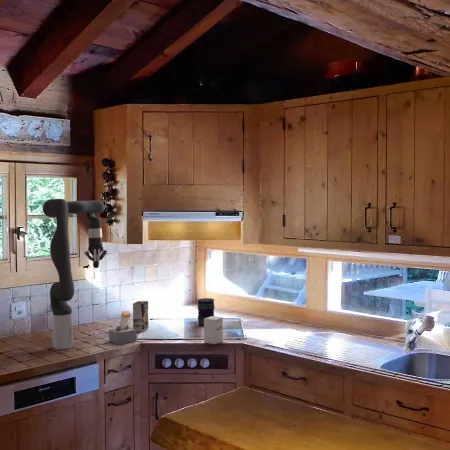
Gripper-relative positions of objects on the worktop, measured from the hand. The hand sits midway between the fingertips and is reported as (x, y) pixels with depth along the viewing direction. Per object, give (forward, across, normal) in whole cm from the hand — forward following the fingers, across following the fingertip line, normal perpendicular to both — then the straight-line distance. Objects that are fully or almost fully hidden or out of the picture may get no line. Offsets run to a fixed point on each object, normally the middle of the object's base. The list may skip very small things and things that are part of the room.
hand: (96, 267), depth 308 cm
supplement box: (+37, +40, -55) cm, 78 cm away
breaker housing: (+37, +4, -23) cm, 44 cm away
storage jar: (+37, +59, -20) cm, 73 cm away
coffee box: (+37, +23, -7) cm, 44 cm away
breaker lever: (+30, +4, -23) cm, 38 cm away
